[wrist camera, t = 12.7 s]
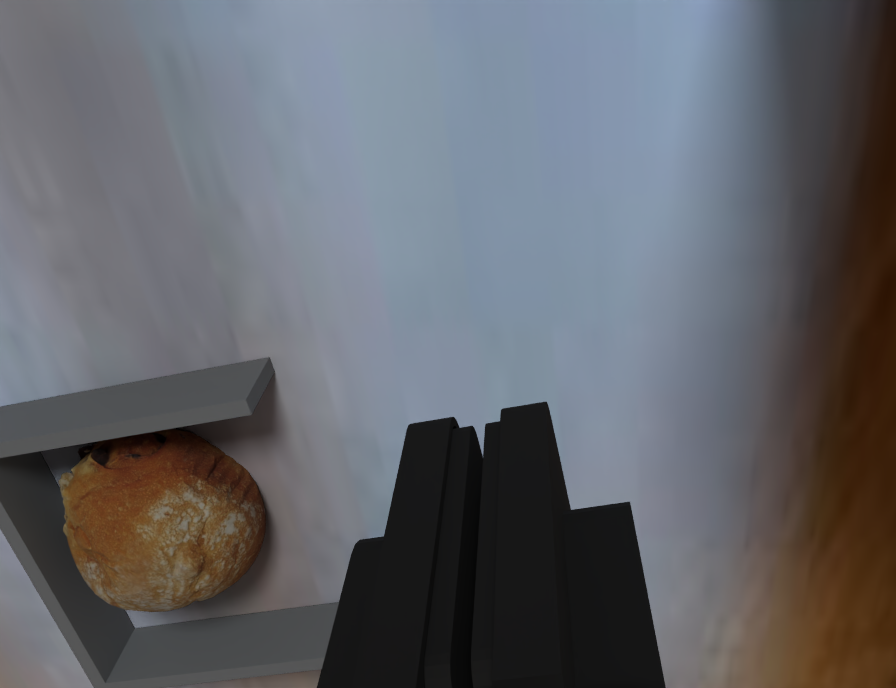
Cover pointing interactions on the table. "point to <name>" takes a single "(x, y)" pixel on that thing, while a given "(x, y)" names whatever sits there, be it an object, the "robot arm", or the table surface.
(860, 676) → the table surface
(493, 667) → the robot arm
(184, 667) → the bin
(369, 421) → the table surface
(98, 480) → the bread roll
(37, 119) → the table surface
